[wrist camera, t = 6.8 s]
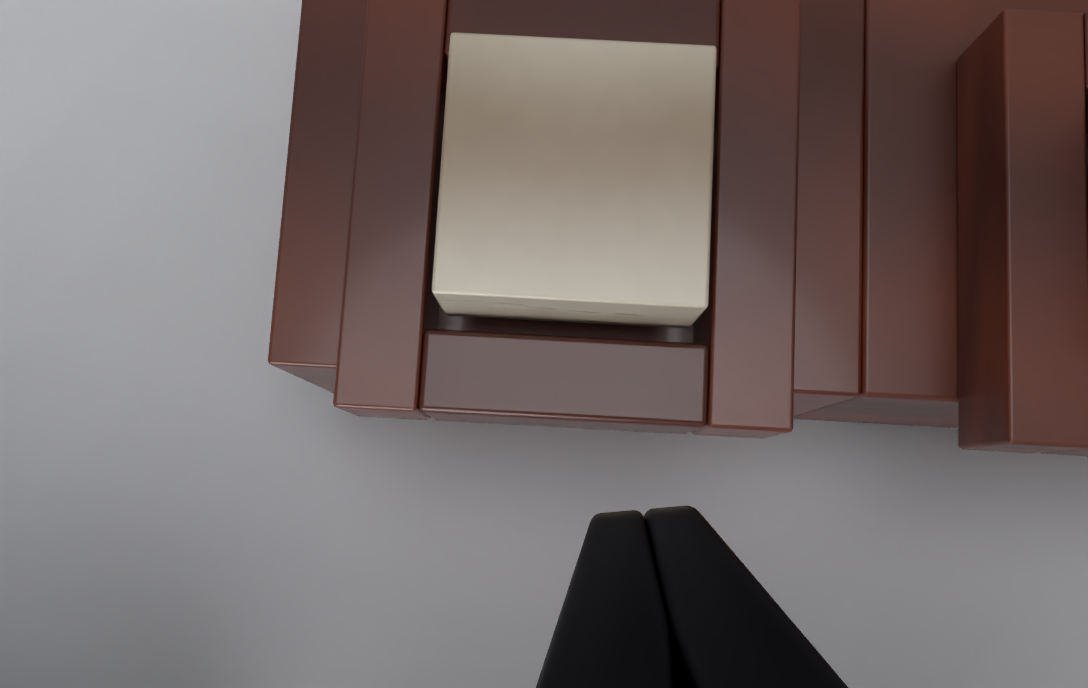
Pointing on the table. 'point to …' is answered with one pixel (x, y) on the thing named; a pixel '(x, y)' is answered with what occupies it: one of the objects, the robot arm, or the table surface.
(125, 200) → the table surface
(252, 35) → the table surface
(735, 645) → the robot arm
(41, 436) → the table surface
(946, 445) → the table surface
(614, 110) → the ivory key
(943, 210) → the brown wooden block
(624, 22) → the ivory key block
